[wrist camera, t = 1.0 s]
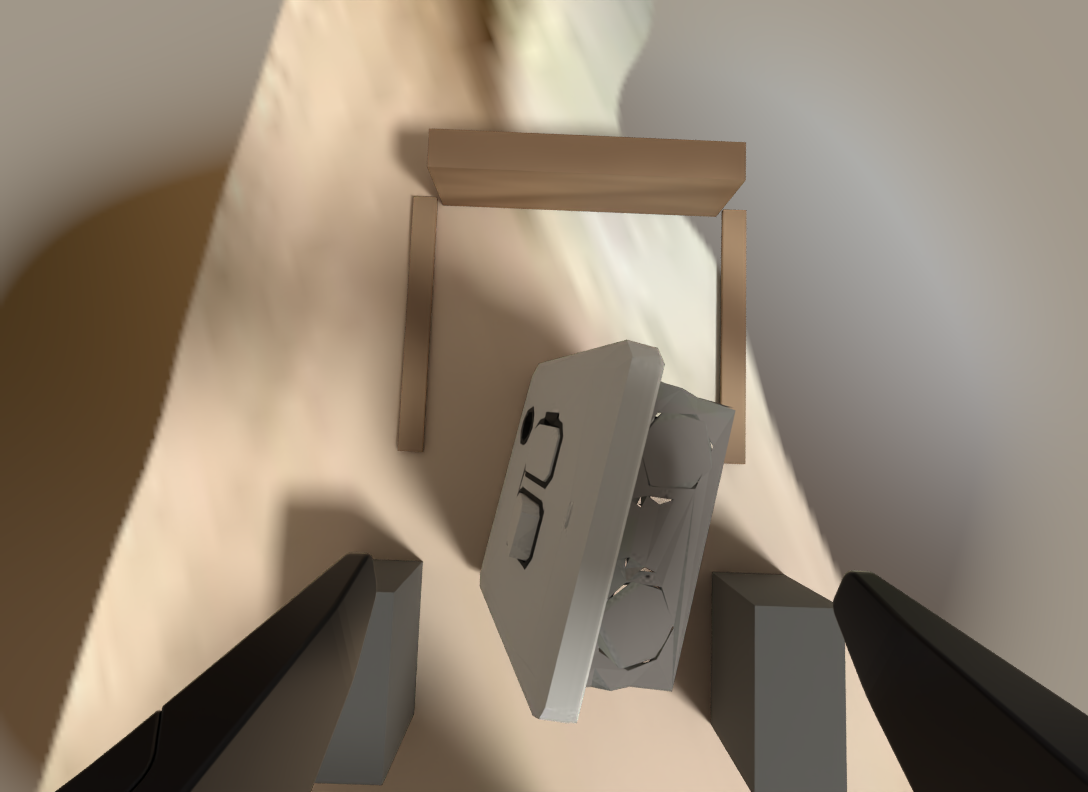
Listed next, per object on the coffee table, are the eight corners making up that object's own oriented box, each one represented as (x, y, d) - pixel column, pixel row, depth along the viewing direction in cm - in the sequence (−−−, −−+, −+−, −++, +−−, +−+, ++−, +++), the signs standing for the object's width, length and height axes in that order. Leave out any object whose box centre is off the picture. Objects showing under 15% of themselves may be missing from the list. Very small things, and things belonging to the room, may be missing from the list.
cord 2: (414, 712, 19) (382, 785, 15) (340, 709, 19) (288, 782, 15) (423, 560, 20) (394, 592, 16) (350, 557, 20) (303, 589, 16)
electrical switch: (534, 362, 20) (568, 314, 11) (648, 394, 21) (771, 372, 12) (476, 580, 20) (461, 721, 10) (595, 607, 20) (682, 767, 11)
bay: (743, 464, 20) (778, 469, 17) (399, 450, 20) (374, 453, 17) (744, 185, 21) (778, 143, 18) (416, 171, 21) (396, 127, 18)
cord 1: (783, 725, 19) (846, 800, 15) (709, 722, 19) (754, 797, 15) (782, 573, 20) (844, 608, 16) (711, 571, 20) (754, 605, 16)
